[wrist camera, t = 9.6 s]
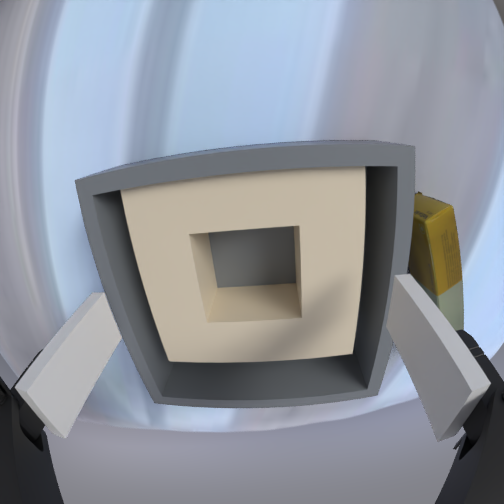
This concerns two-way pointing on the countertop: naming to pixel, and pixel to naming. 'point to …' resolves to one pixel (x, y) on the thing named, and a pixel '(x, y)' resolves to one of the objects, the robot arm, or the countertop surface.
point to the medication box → (437, 257)
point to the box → (255, 268)
